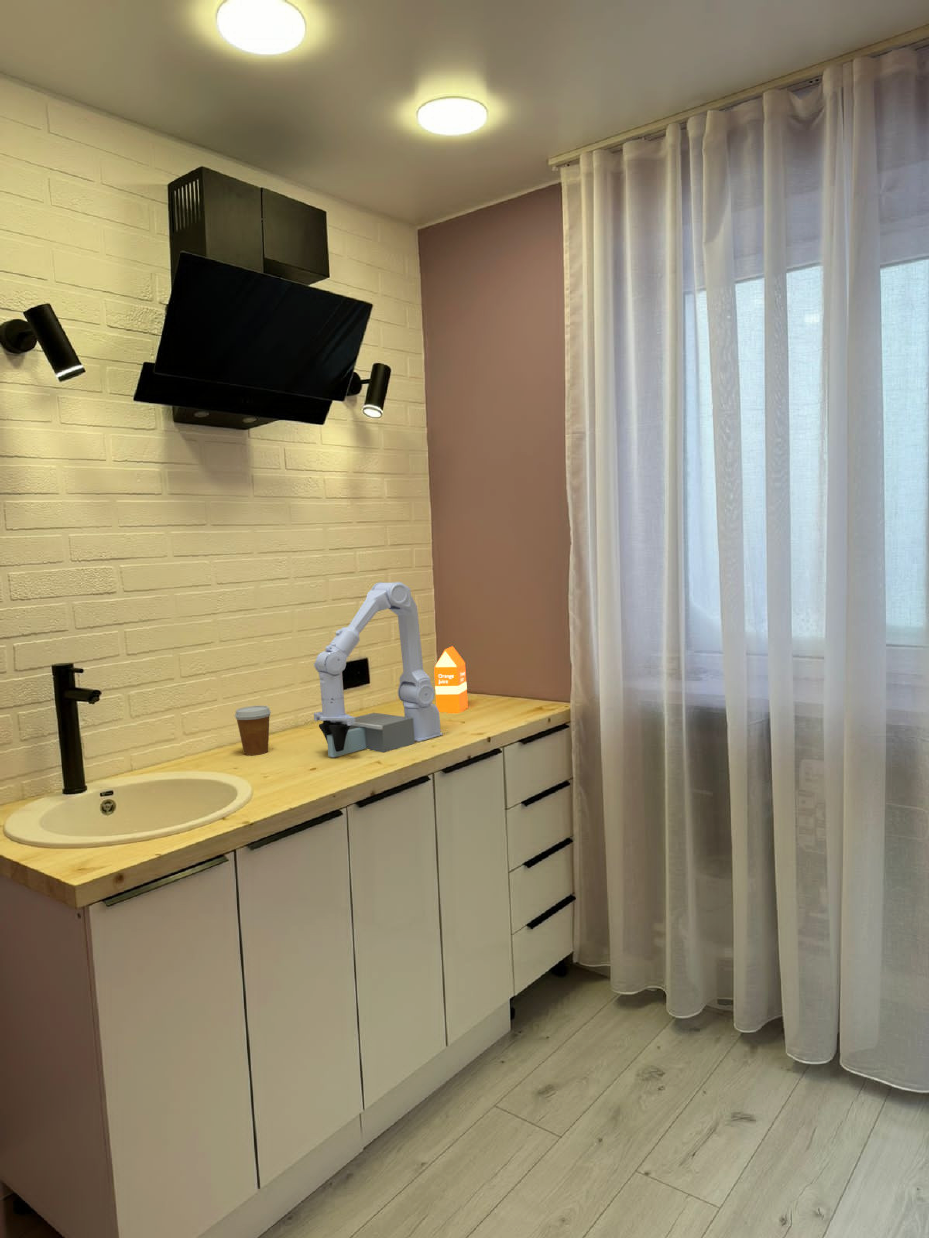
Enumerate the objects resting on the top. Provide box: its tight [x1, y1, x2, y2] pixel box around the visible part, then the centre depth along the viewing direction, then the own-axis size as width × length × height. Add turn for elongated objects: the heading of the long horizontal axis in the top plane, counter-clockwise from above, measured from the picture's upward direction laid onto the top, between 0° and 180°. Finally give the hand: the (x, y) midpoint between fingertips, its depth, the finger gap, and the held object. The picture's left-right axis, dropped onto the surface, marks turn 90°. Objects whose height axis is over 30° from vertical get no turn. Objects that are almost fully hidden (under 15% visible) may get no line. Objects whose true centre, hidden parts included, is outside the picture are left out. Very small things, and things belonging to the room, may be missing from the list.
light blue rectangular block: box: [326, 727, 367, 758], centre depth 228 cm, size 14×2×6 cm, turn 137°
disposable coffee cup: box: [234, 705, 272, 756], centre depth 234 cm, size 10×10×12 cm
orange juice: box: [433, 645, 469, 714], centre depth 276 cm, size 8×9×20 cm
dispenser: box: [349, 712, 416, 753], centre depth 234 cm, size 12×16×7 cm
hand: (336, 750), depth 224 cm, fingers closed on light blue rectangular block, 2 cm apart
